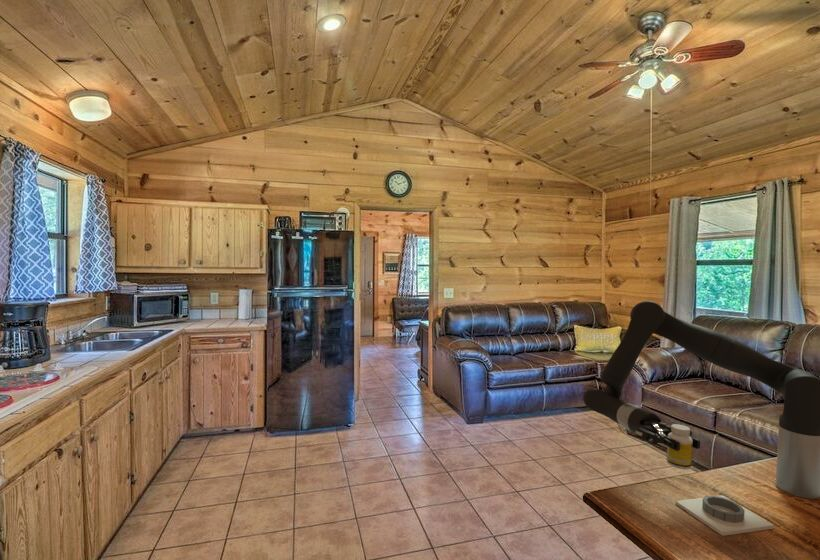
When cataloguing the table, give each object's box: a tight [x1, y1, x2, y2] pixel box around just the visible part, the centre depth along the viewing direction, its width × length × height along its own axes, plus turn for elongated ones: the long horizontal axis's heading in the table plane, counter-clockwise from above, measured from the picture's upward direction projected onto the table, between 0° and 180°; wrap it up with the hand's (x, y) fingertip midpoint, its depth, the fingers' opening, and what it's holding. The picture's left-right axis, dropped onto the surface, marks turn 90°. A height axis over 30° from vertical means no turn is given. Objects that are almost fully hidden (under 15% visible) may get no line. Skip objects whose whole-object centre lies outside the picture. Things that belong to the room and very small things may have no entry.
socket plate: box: [675, 495, 775, 537], centre depth 104 cm, size 15×13×3 cm
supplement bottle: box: [666, 423, 694, 470], centre depth 106 cm, size 5×5×10 cm
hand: (688, 445), depth 104 cm, fingers closed on supplement bottle, 5 cm apart
